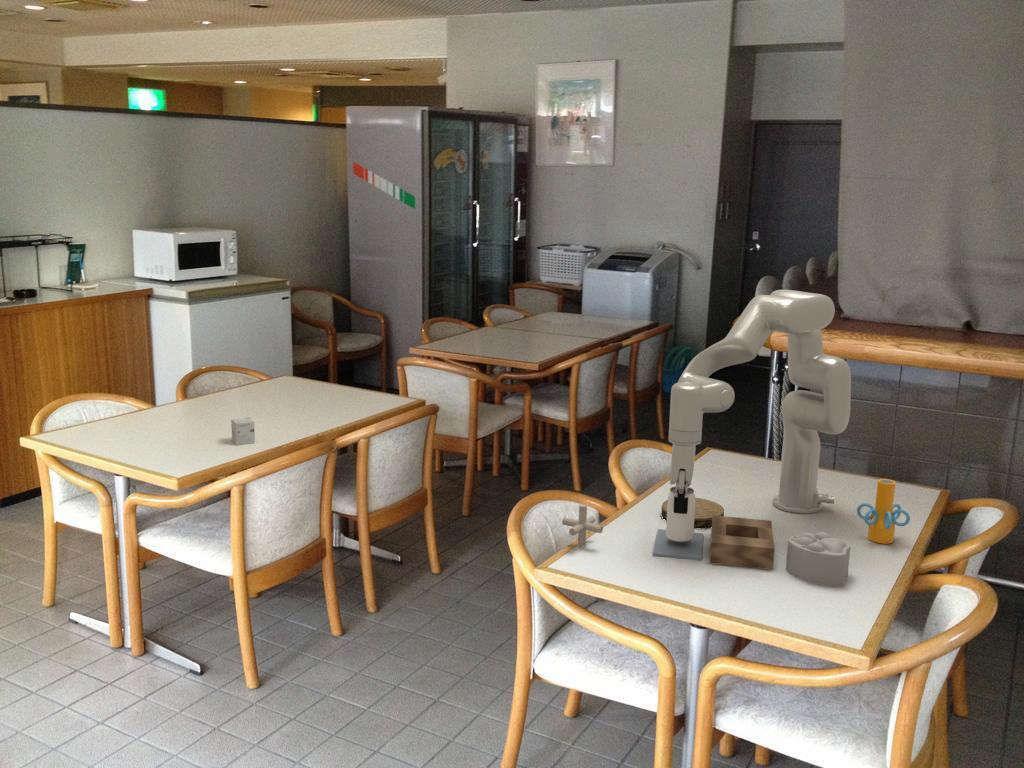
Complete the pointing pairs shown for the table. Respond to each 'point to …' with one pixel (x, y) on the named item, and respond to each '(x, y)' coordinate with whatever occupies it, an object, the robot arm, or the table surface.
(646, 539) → the table surface
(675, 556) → the rubber mat
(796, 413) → the robot arm
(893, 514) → the cylinder
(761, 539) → the housing block
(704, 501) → the wooden disc
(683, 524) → the can
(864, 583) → the table surface
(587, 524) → the pipe connector
